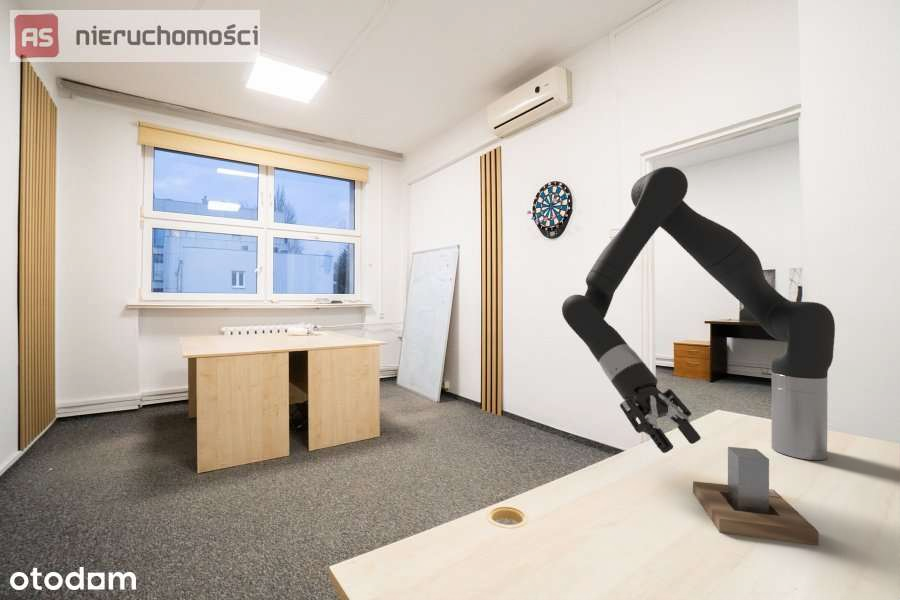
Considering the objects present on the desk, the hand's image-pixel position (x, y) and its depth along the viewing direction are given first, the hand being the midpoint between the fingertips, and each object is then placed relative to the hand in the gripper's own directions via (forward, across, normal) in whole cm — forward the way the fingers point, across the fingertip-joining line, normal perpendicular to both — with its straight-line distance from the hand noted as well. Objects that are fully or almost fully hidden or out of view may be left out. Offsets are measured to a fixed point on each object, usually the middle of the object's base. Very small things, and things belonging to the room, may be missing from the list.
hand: (683, 446), depth 71 cm
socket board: (+13, 0, -2) cm, 13 cm away
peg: (+13, 0, -2) cm, 13 cm away
